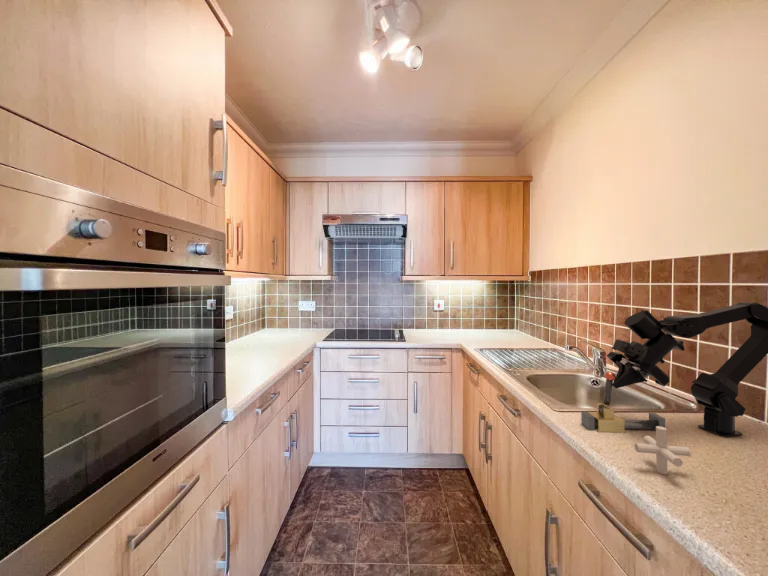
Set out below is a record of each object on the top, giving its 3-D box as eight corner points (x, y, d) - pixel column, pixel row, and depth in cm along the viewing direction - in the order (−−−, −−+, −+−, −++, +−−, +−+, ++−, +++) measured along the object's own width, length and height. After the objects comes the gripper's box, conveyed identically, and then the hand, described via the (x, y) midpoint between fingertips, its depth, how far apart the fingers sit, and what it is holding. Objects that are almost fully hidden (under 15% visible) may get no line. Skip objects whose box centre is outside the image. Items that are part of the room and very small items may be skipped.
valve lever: (606, 413, 93) (612, 371, 93) (612, 417, 91) (618, 373, 90) (597, 412, 94) (603, 370, 93) (602, 416, 91) (608, 372, 91)
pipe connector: (706, 488, 64) (705, 440, 64) (650, 483, 66) (650, 436, 66) (671, 461, 74) (671, 420, 74) (624, 457, 76) (624, 417, 76)
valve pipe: (652, 425, 93) (652, 403, 93) (667, 433, 88) (667, 411, 88) (580, 423, 96) (579, 402, 96) (590, 431, 90) (589, 409, 90)
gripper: (612, 326, 101) (577, 360, 102) (656, 335, 82) (612, 376, 83) (639, 350, 100) (603, 384, 101) (689, 365, 81) (644, 406, 82)
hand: (613, 387), depth 92 cm, fingers closed
